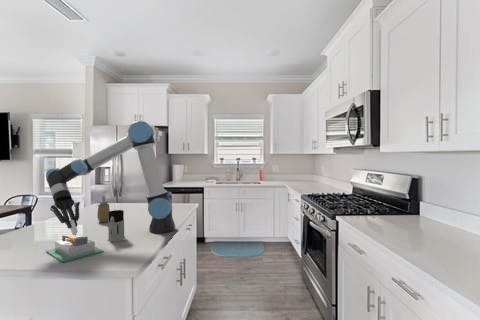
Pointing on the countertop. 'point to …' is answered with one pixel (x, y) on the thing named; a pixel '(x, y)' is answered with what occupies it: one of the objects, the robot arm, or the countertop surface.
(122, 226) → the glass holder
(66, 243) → the green base fixture
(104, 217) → the squeeze bottle
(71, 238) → the tan rectangular bar
